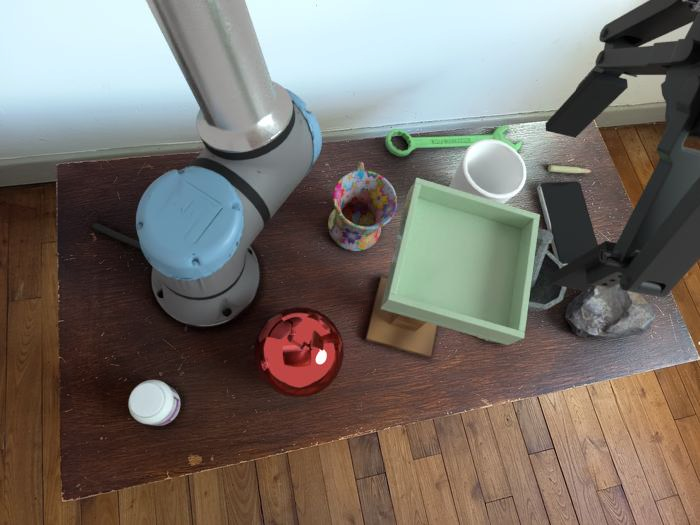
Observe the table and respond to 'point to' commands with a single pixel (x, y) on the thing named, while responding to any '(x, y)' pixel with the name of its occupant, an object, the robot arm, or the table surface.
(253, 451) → the table surface
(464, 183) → the cup
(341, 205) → the mug
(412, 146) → the wrench
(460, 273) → the tray
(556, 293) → the mortar and pestle
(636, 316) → the rock
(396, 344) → the stand
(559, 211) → the smartphone
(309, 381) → the ball
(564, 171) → the bullet
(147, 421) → the pill bottle
